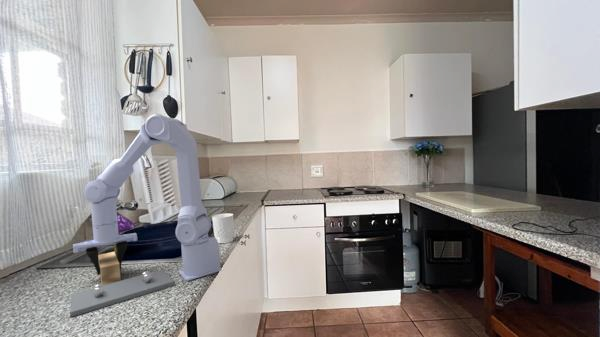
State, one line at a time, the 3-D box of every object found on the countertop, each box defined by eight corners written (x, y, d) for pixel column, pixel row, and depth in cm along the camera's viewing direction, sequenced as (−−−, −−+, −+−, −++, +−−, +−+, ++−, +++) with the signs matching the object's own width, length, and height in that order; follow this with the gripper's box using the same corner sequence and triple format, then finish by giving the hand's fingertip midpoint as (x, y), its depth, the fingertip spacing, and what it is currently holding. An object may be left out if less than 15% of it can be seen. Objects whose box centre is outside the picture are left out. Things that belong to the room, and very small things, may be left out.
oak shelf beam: (115, 267, 84) (114, 251, 84) (120, 282, 73) (119, 263, 73) (99, 271, 81) (98, 254, 81) (102, 287, 70) (100, 267, 70)
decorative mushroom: (142, 252, 98) (138, 210, 97) (98, 262, 89) (95, 216, 89) (133, 245, 107) (130, 207, 106) (93, 254, 98) (90, 212, 98)
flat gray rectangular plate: (163, 272, 78) (162, 262, 78) (173, 285, 69) (173, 273, 69) (71, 298, 65) (70, 285, 65) (70, 317, 57) (69, 303, 56)
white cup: (210, 241, 106) (208, 216, 105) (228, 237, 111) (227, 212, 111) (219, 245, 100) (217, 218, 100) (238, 240, 105) (237, 214, 105)
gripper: (133, 216, 84) (136, 260, 85) (71, 226, 75) (76, 275, 76) (136, 220, 79) (140, 266, 79) (71, 230, 70) (75, 283, 70)
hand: (109, 271), depth 77 cm, fingers closed on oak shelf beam, 4 cm apart
